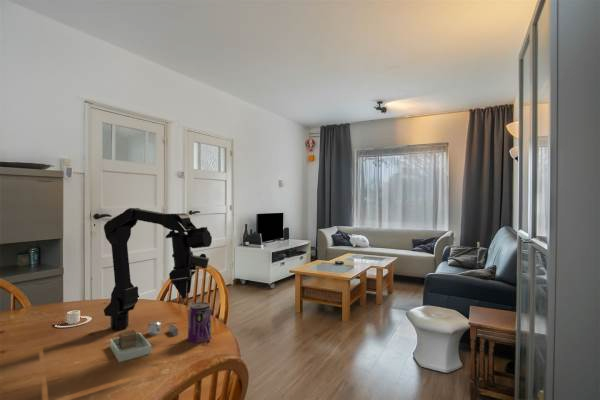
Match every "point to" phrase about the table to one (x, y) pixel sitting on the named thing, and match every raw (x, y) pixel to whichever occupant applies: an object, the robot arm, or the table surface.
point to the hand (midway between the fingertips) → (186, 295)
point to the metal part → (154, 328)
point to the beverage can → (199, 322)
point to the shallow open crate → (139, 350)
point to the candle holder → (74, 318)
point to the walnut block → (127, 339)
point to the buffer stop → (173, 330)
